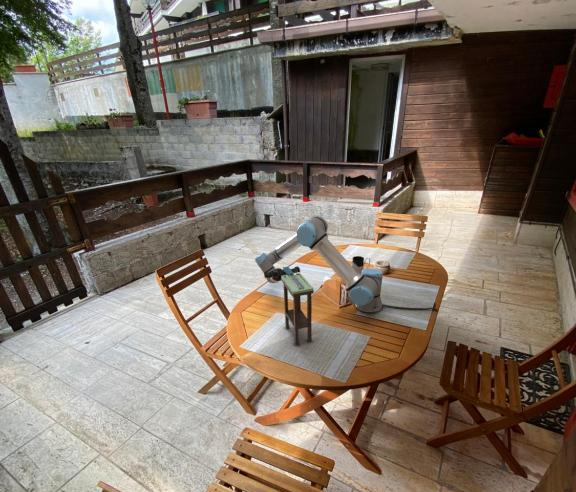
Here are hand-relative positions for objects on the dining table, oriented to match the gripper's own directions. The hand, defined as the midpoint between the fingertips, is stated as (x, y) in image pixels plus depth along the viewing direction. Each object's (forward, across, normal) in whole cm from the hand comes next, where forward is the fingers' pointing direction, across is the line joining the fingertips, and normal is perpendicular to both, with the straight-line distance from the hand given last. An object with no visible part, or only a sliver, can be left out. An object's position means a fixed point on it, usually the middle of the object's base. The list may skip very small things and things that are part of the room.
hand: (285, 270), depth 163 cm
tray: (+15, 0, -8) cm, 17 cm away
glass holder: (-40, -62, -10) cm, 75 cm away
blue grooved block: (+10, 0, -5) cm, 12 cm away
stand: (0, 0, -34) cm, 34 cm away
